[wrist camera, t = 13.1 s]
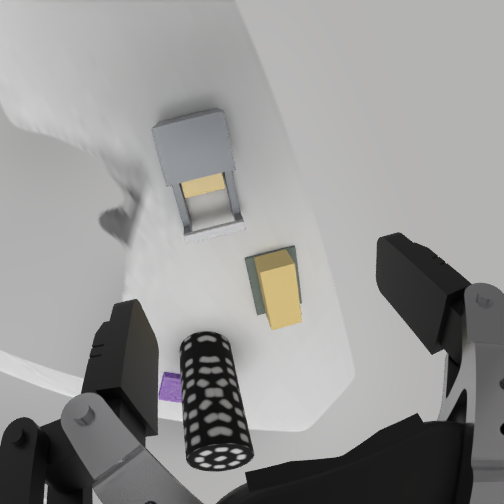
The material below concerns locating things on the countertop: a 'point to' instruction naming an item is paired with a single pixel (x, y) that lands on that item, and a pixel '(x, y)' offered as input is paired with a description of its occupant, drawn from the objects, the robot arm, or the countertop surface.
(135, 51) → the countertop surface
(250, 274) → the mat
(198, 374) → the white-spotted black cylinder
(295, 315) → the wooden block
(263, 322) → the countertop surface
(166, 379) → the sponges
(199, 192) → the dispenser
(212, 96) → the countertop surface
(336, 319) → the countertop surface
